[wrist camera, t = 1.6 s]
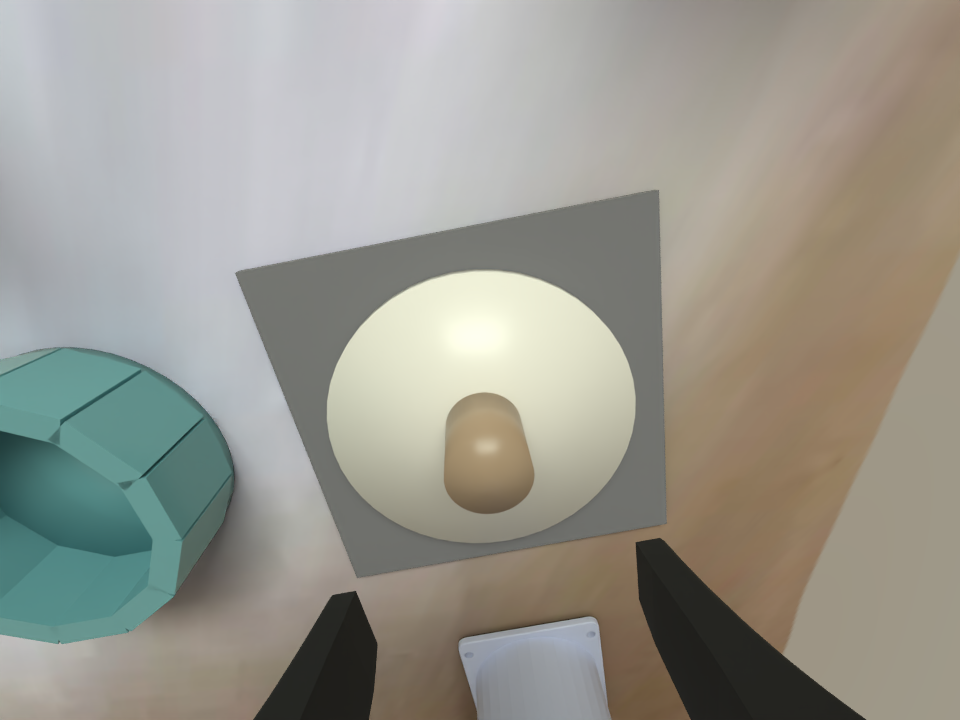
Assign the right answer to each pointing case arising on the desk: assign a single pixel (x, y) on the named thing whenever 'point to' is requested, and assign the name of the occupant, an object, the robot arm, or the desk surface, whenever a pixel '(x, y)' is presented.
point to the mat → (493, 245)
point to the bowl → (100, 492)
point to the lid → (481, 406)
